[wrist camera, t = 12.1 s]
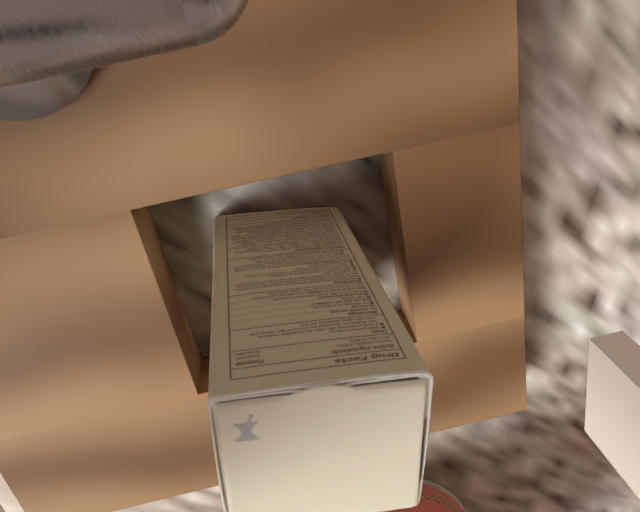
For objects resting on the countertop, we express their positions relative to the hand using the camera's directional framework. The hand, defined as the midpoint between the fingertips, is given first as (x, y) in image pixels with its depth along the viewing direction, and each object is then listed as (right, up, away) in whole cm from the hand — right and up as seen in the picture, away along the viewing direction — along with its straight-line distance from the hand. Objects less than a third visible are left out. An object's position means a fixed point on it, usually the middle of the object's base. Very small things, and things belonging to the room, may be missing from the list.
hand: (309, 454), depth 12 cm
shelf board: (-4, +6, +9) cm, 12 cm away
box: (-1, +4, +11) cm, 12 cm away
